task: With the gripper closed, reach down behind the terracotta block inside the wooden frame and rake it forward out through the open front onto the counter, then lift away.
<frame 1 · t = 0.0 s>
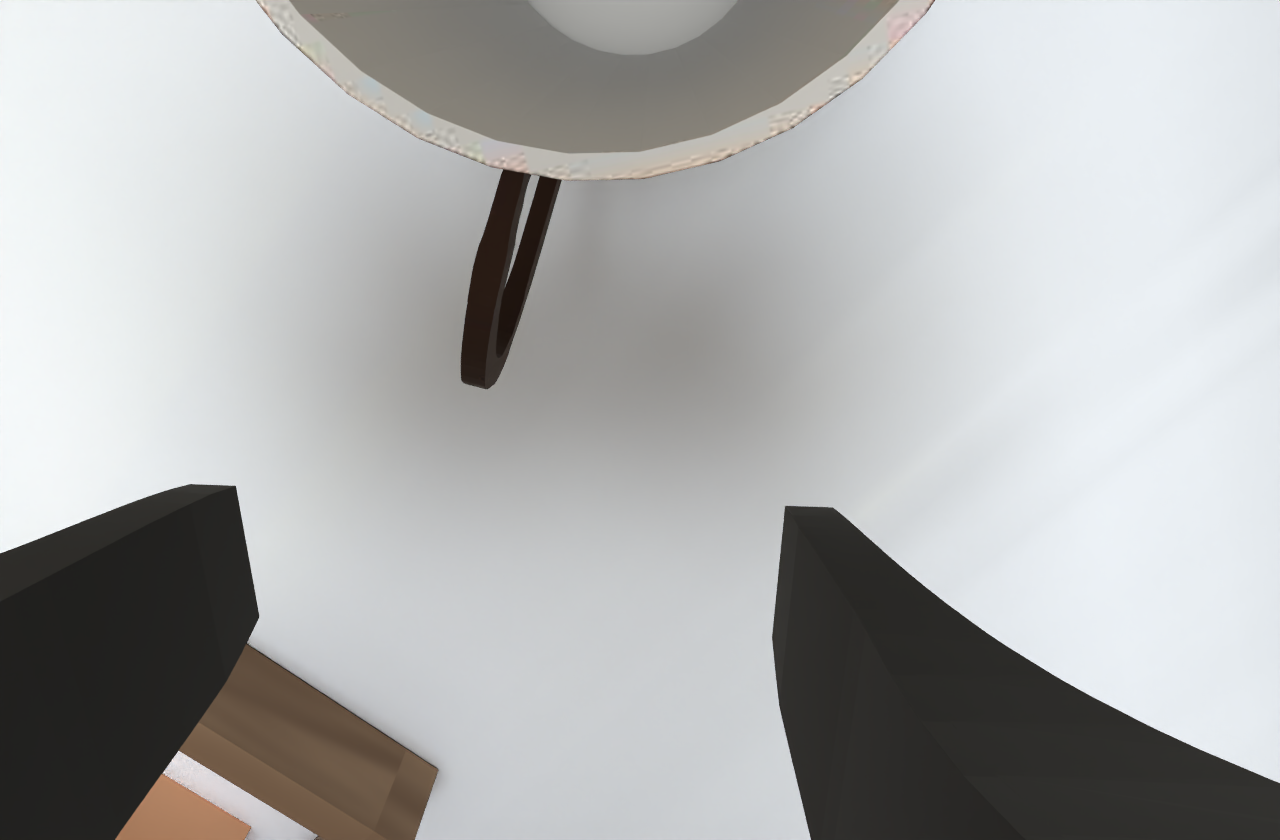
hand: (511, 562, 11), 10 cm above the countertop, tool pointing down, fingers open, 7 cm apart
terracotta block: (159, 826, 27), resting in wooden frame
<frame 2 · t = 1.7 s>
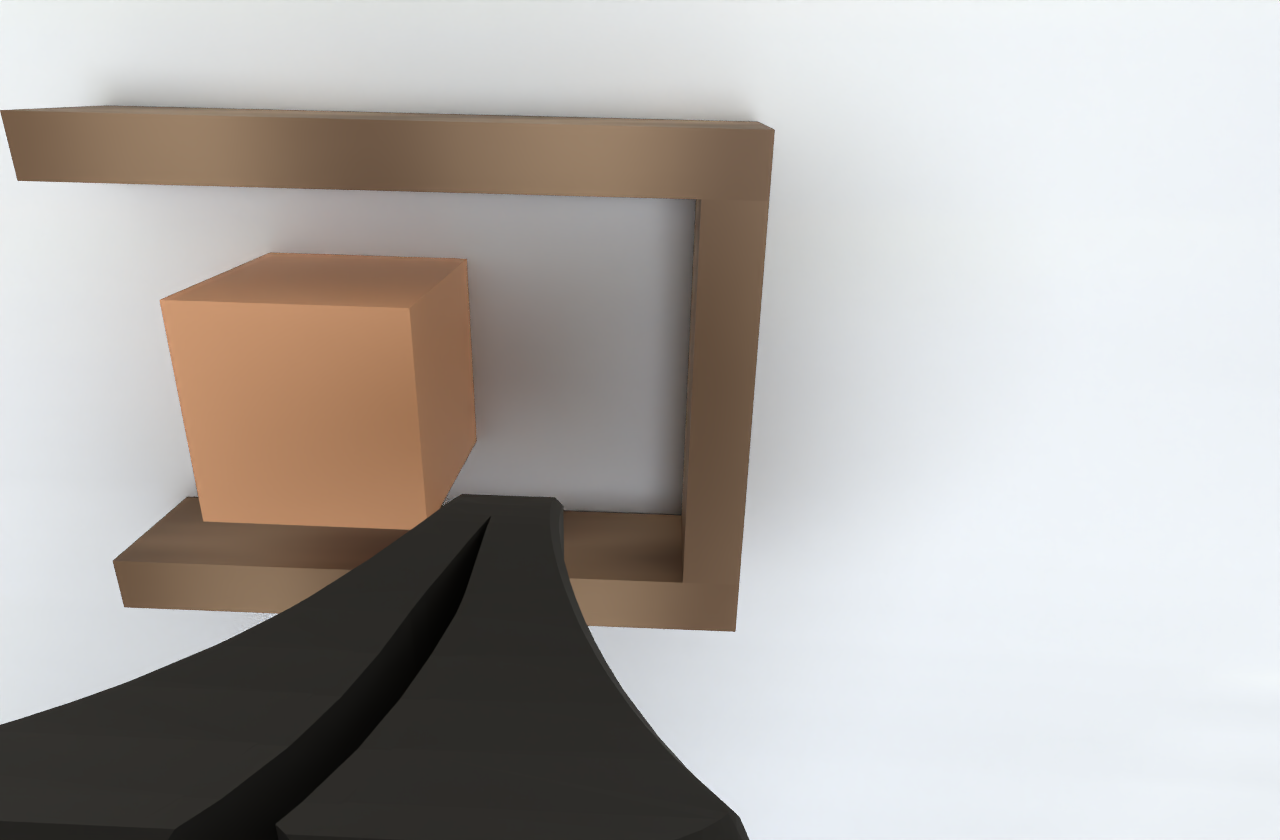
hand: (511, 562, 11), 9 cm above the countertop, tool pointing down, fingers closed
terracotta block: (378, 349, 19), resting in wooden frame
wooden frame: (155, 344, 19), on the countertop
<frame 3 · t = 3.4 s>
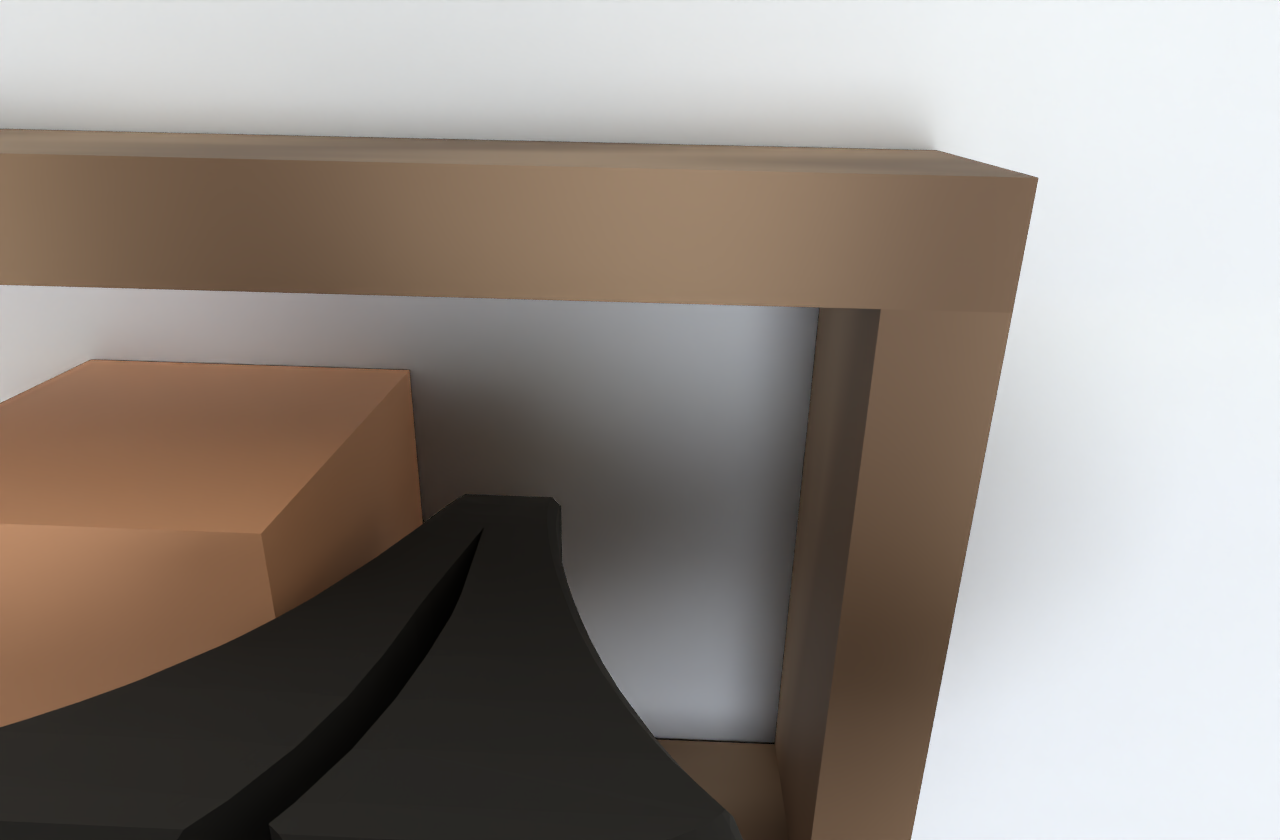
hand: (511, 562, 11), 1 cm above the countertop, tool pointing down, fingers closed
terracotta block: (272, 507, 12), resting in wooden frame, touching gripper
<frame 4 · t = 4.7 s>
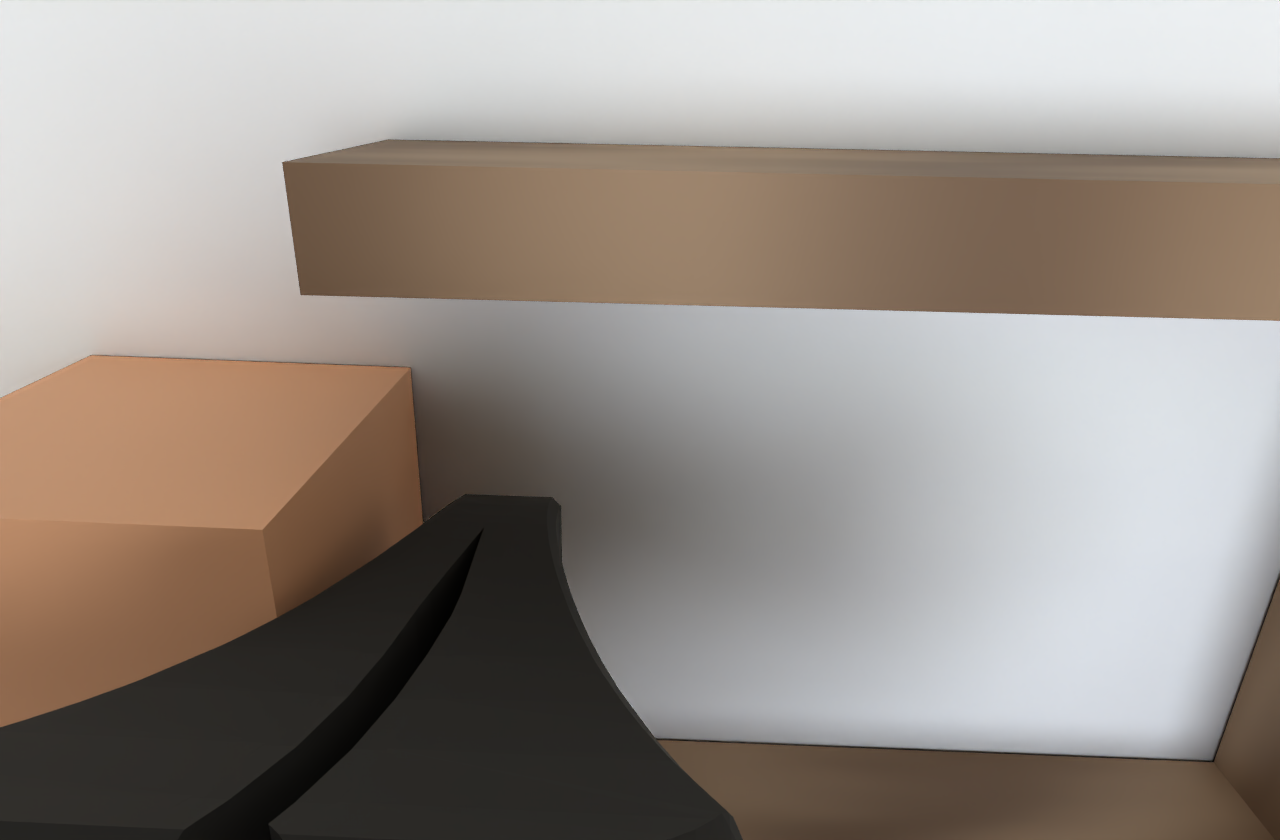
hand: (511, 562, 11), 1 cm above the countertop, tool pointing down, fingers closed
terracotta block: (272, 504, 12), on the countertop, touching gripper
wooden frame: (422, 515, 12), on the countertop
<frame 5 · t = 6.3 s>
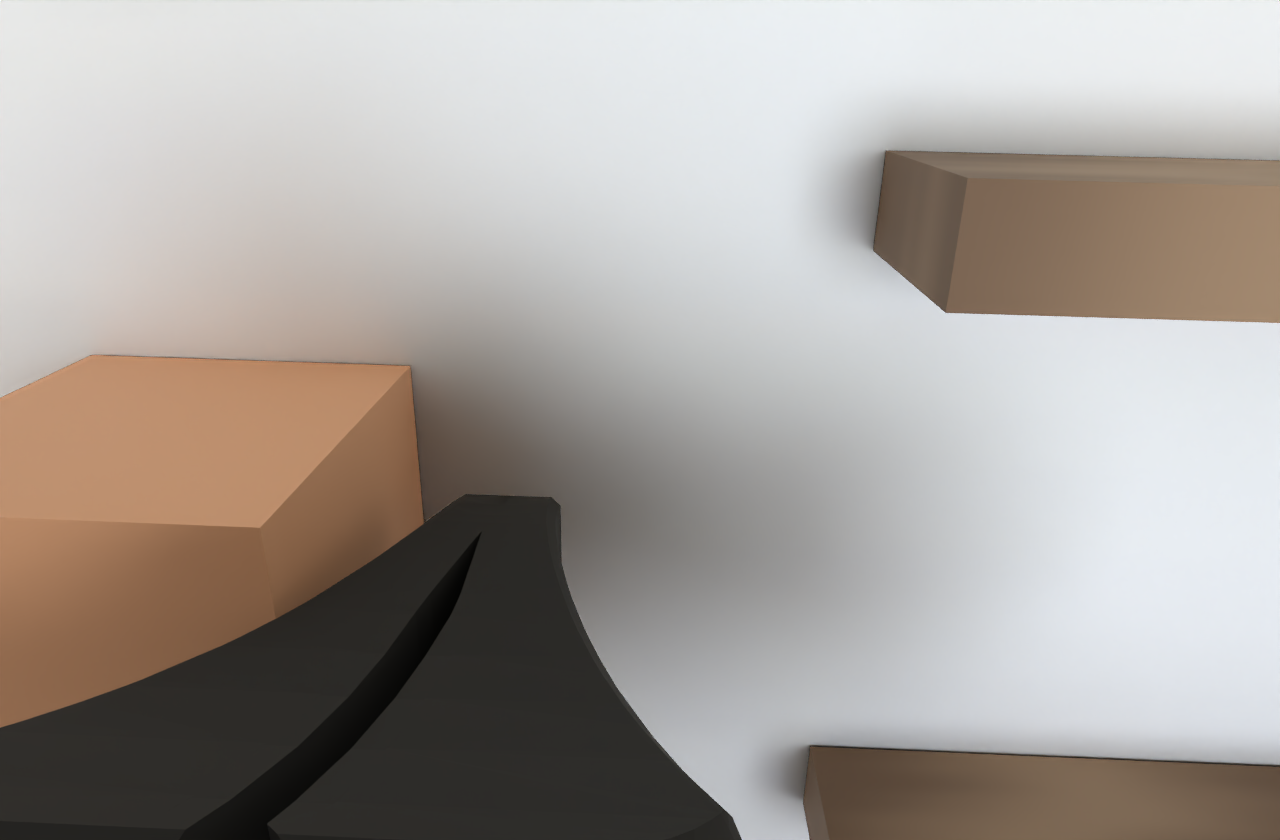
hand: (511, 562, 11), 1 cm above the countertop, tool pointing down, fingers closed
terracotta block: (273, 504, 12), on the countertop, touching gripper
wooden frame: (837, 529, 12), on the countertop
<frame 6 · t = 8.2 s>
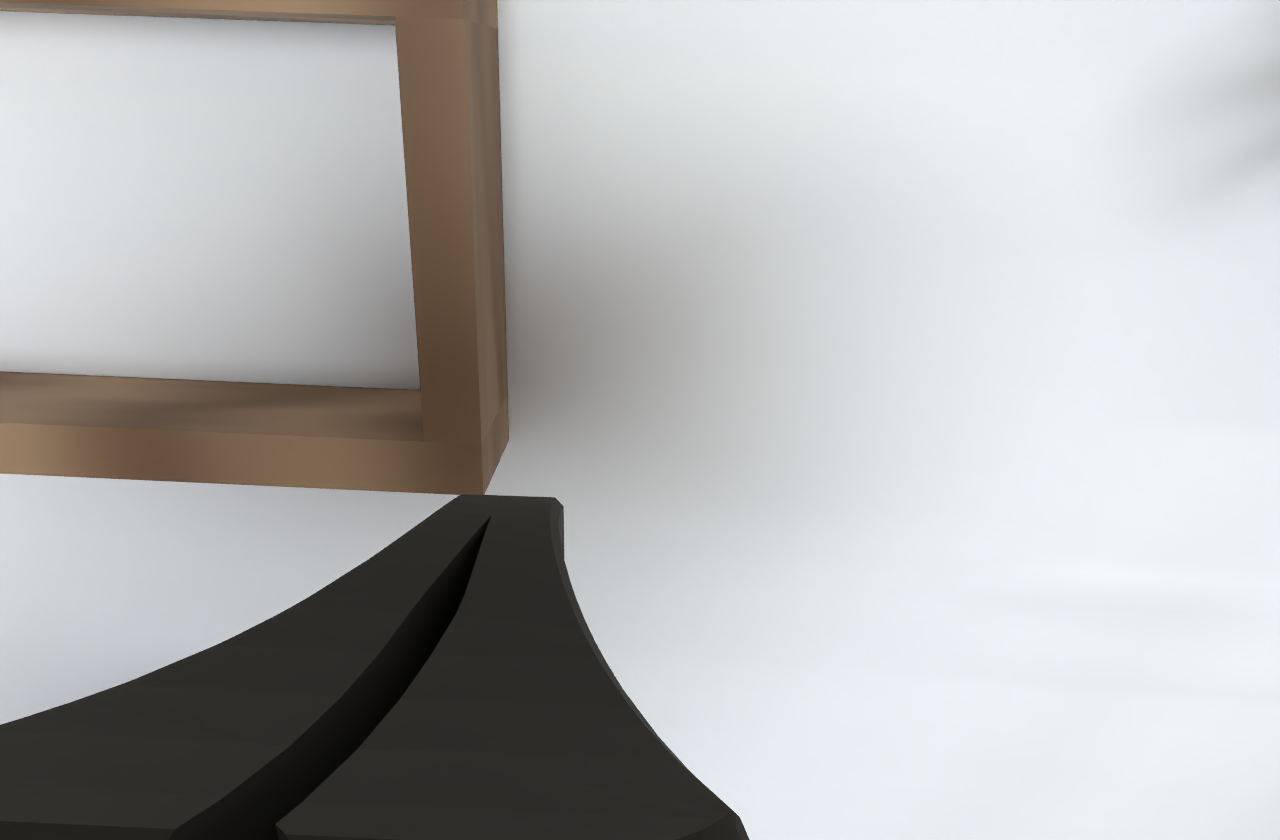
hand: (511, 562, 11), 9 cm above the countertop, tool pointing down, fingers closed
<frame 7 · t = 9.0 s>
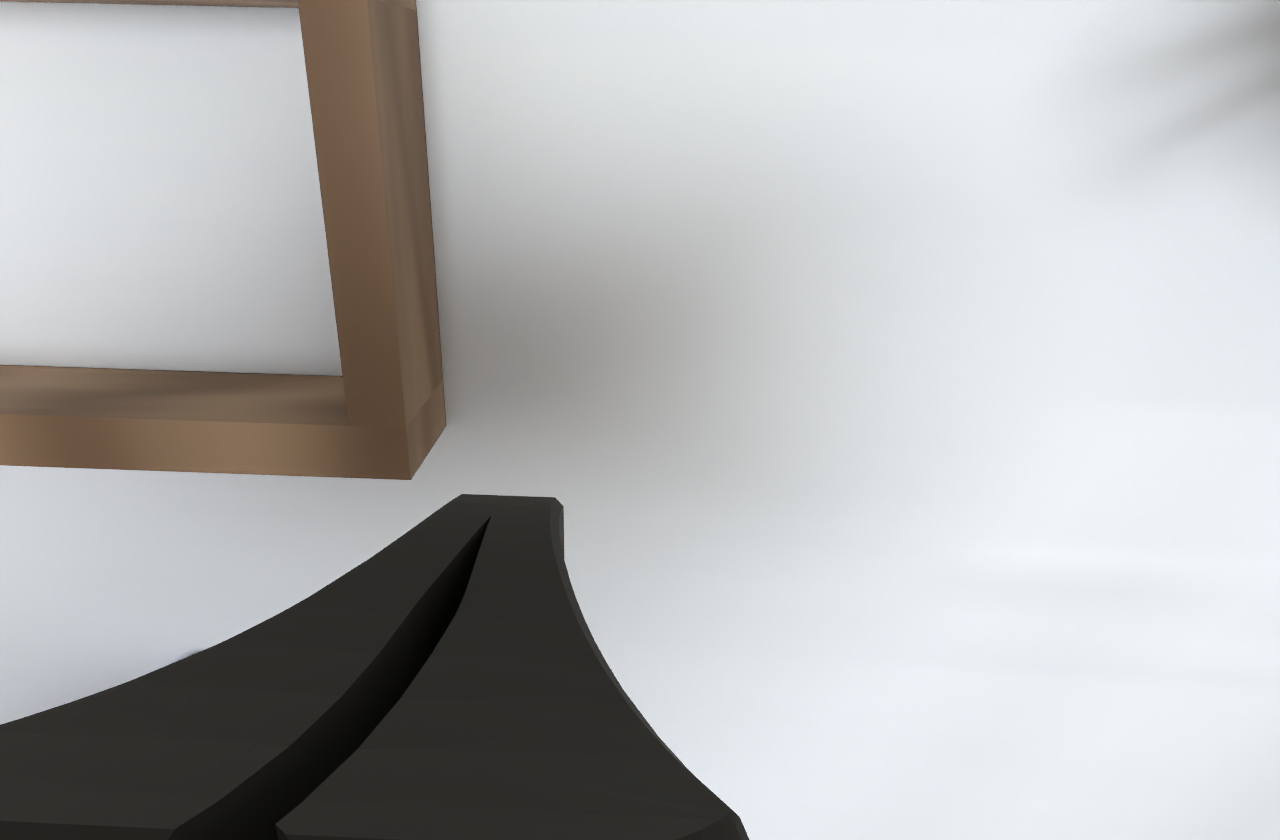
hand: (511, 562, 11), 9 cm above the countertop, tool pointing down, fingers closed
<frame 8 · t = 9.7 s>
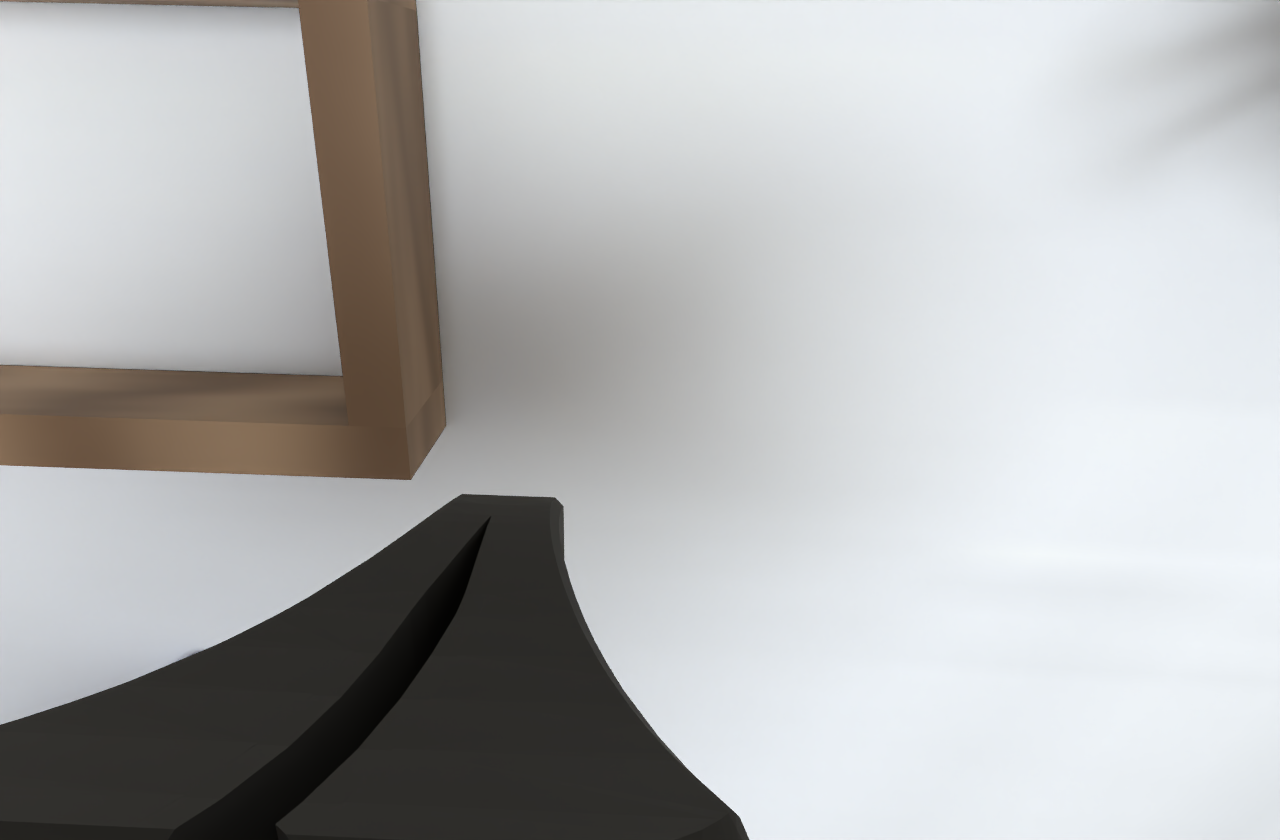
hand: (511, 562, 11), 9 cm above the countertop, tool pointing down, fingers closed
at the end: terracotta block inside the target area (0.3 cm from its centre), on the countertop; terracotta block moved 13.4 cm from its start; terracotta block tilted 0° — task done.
